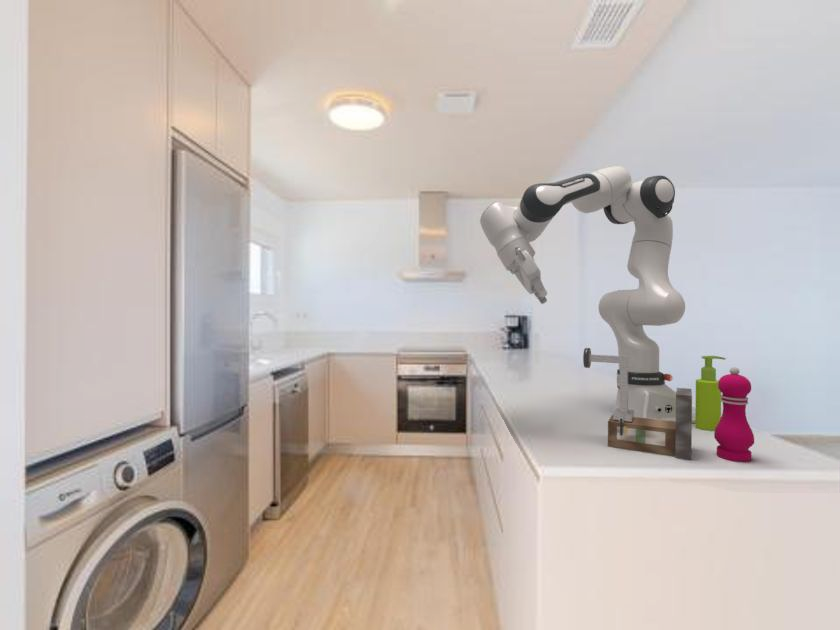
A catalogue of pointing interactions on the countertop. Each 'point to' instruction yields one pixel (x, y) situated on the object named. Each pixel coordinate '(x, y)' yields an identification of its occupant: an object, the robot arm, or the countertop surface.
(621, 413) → the plunger
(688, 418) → the stand
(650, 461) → the countertop surface
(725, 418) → the pepper mill
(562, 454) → the countertop surface
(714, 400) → the soap dispenser
